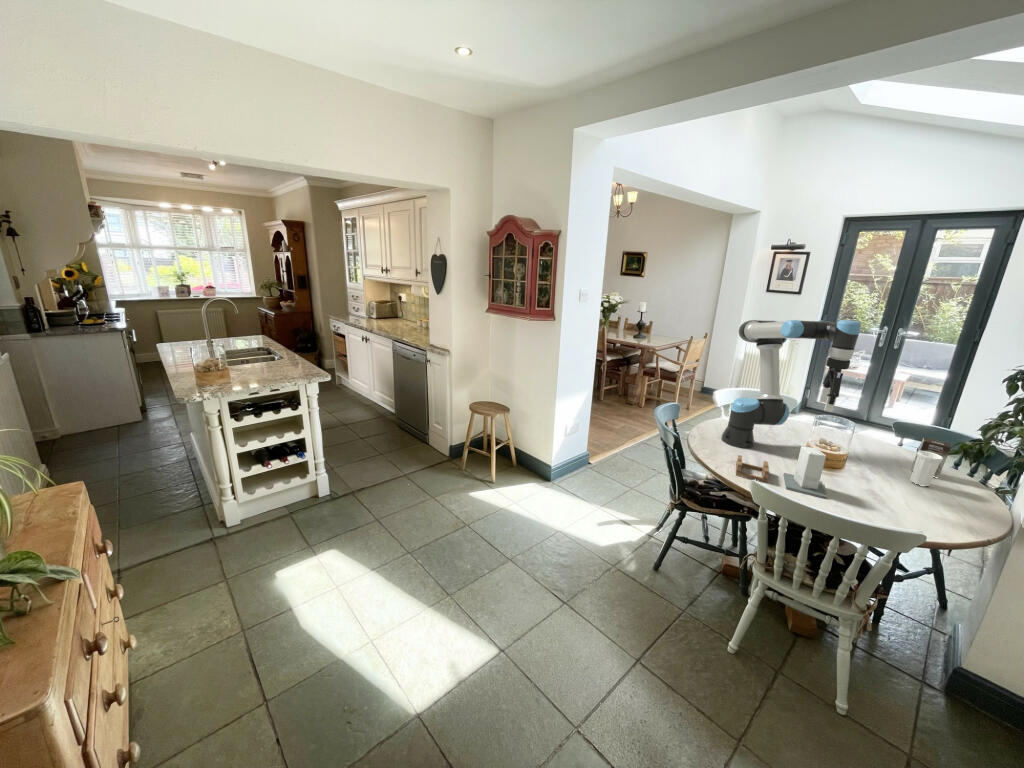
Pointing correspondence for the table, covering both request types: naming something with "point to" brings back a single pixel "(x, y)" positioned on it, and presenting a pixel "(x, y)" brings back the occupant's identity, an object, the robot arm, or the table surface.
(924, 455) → the cup
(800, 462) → the skincare box
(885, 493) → the table surface
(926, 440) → the coffee box
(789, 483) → the plate
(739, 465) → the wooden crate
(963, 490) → the table surface
